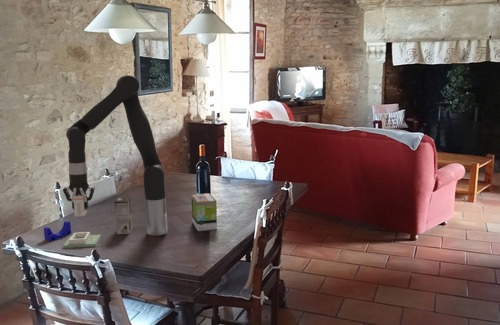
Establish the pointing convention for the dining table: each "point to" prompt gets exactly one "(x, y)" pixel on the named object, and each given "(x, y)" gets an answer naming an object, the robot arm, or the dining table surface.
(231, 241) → the dining table surface
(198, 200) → the tea box
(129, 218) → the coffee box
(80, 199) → the plug
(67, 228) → the blue arch block
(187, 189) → the dining table surface
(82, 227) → the dining table surface
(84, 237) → the board
